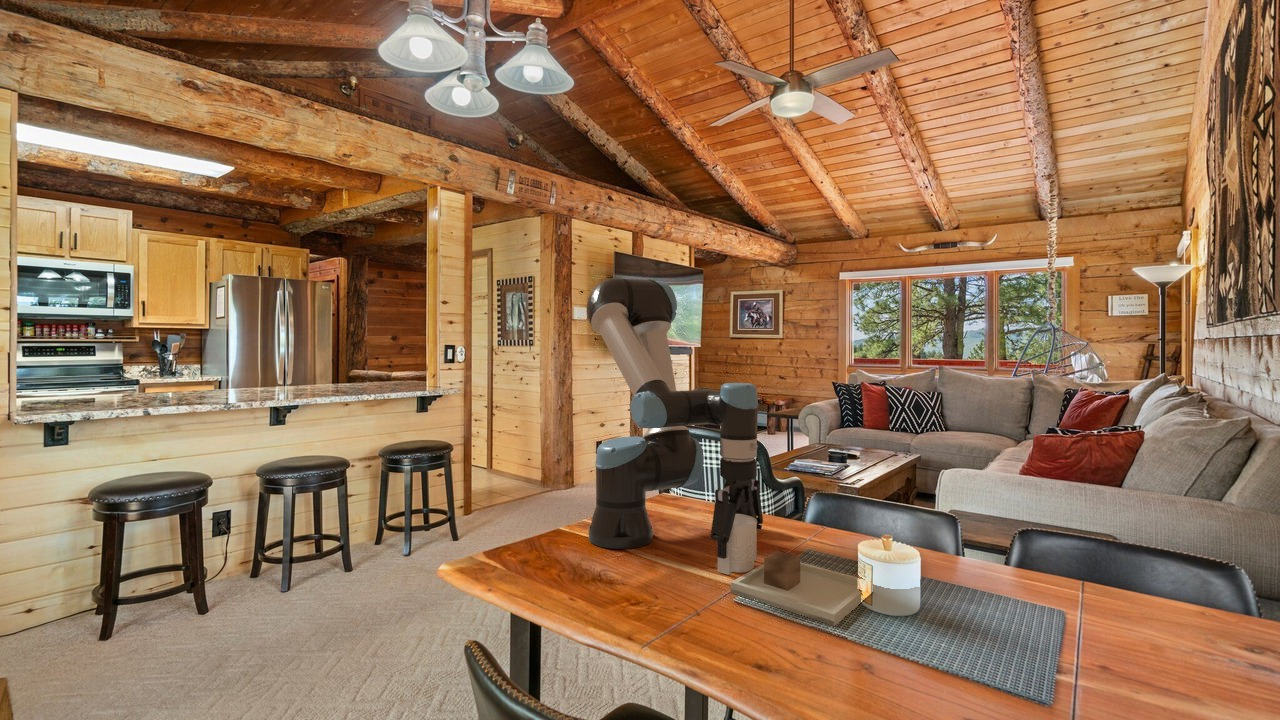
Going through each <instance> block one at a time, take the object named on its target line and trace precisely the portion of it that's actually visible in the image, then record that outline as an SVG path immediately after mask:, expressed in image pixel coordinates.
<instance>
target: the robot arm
mask: <svg viewBox="0 0 1280 720" xmlns="http://www.w3.org/2000/svg"><path fill="white" fill-rule="evenodd" d="M677 310H678V302H677V296H676V294H675V291H674V290H673V288H672V287H671V286H670V285H669V284H668V283H666V282H665V281H662V280H655V279H651V278H650V279H635V278H634V279H633V278H621V277H612V278H607V279H605V280H602V281H601V282H599V283H598V284H597V285H596V286H594V288H593V289H592V291H590V294H589V296H588V298H587V302H586V315H587V320H588V321H589V325H590V326H591V327H592V330H593V331H594V332H596V333H597V334H599V335H600V336H601V338H602V340H603V342H604V344H605V345H606V347H607V348H608V350H609V353H610V355H611V356H612V358H613V360H614V362H615V365H616V366H617V367H618V369H619V372H620V373H621V375H622V377H623V379H624V381H625V382H626V384H627V386H628V388H629V390H630V391H631V394H632V395H633V397H632V399H631V402H630V413H631V419H632V421H633V423H634V424H635V425H636V426H637V427H638V428H641V429H647V430H646V432H645V433H644V434H643V436H636V435H635V436H620V437H615V438H610V439H608V440H605V441H603V442H601V444H599V445H598V447H597V449H596V458H595V464H594V465H595V495H596V496H595V499H596V500H595V501H596V502H595V509H594V511H593V515H592V519H591V523H590V525H589V527H588V541H589V542H590V543H591V544H592V545H595V546H597V547H599V548H600V547H602V548H606V549H614V550H615V549H616V550H620V549H621V550H624V549H626V550H627V549H635V548H639V547H644V546H646V545H648V544H650V543H651V542H652V541H653V539H654V530H653V525H651V521H650V517H649V513H648V510H647V507H646V505H647V504H646V493H647V492H653V491H661V490H668V489H679V488H683V487H686V486H691V485H693V484H694V483H696V482H697V481H698V480H699V479H700V477H701V474H702V471H703V469H704V463H705V462H704V461H705V460H704V459H705V458H704V450H703V447H702V445H701V444H700V442H699V441H698V440H697V439H696V438H694V437H691V433H690V428H688V426H698V425H699V426H700V425H714V426H718V427H719V428H720V433H719V435H720V436H719V441H720V443H719V456H720V457H721V458H720V460H719V475H720V477H721V478H723V479H724V486H723V489H718V488H717V489H715V491H714V499H715V500H714V501H715V502H714V508H713V516H712V523H711V530H710V537H709V538H710V540H713V541H716V543H717V544H716V545H717V549H716V550H717V553H716V554H717V556H716V557H717V572H718V573H721V574H724V575H727V576H730V575H732V572H731V542H730V541H729V537H730V534H731V530H732V526H733V522H734V518H735V514H736V511H737V510H739V508H740V507H741V510H742V513H743V514H744V515H749V516H752V517H754V518H756V520H757V527H756V544H755V554H754V562H757V547H758V546H757V545H758V543H757V537H758V535H757V532H758V530H762V528H763V525H762V524H763V523H764V518H763V517H764V516H763V509H762V502H761V501H762V500H761V492H760V488H761V487H760V486H761V482H760V481H761V480H757V479H756V478H757V476H758V461H757V459H755V458H757V456H758V452H757V451H758V450H757V449H758V447H759V446H758V441H757V440H758V412H759V410H758V409H759V401H758V389H757V386H756V385H755V384H753V383H748V382H726V383H723V384H721V386H720V390H718V389H711V388H707V387H701V388H693V389H691V390H677V386H676V380H675V375H674V370H673V361H672V357H671V351H670V345H669V338H668V332H669V331H670V329H671V328H672V323H673V322H674V321H675V319H676V316H677ZM729 503H730V504H729ZM756 516H757V517H756ZM724 535H725V536H724Z"/></svg>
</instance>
